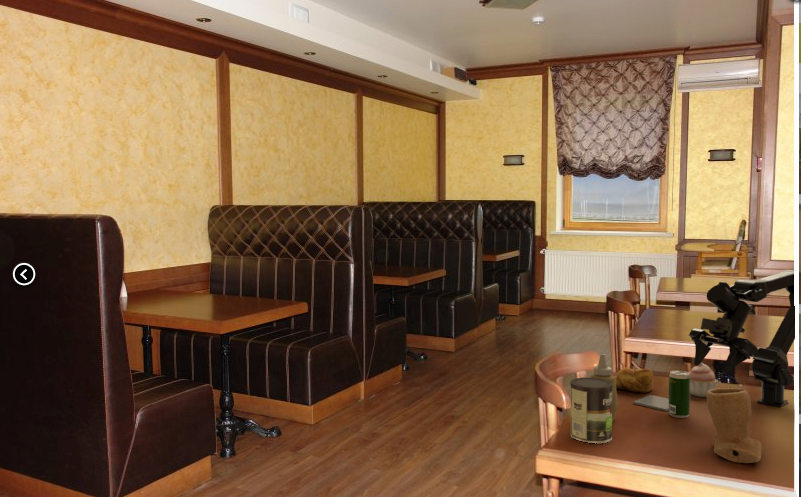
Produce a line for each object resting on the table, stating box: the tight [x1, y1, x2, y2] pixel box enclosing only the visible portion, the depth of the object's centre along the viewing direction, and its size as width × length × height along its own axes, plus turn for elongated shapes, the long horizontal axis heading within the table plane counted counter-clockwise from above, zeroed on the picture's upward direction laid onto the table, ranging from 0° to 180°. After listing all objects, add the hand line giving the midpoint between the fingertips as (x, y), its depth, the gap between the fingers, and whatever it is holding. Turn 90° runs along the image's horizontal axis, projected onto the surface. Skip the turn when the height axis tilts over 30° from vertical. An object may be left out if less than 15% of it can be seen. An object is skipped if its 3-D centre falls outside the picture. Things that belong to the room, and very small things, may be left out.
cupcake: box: [687, 362, 719, 398], centre depth 201 cm, size 9×9×10 cm
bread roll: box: [614, 367, 654, 394], centre depth 208 cm, size 13×10×8 cm
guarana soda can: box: [668, 370, 691, 419], centre depth 182 cm, size 5×5×12 cm
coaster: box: [633, 394, 669, 412], centre depth 193 cm, size 10×10×1 cm
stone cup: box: [705, 387, 762, 464], centre depth 154 cm, size 15×12×15 cm
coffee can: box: [569, 377, 613, 445], centre depth 166 cm, size 10×10×14 cm
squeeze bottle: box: [589, 353, 619, 422], centre depth 179 cm, size 8×8×18 cm
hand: (709, 369), depth 181 cm, fingers open, 9 cm apart
